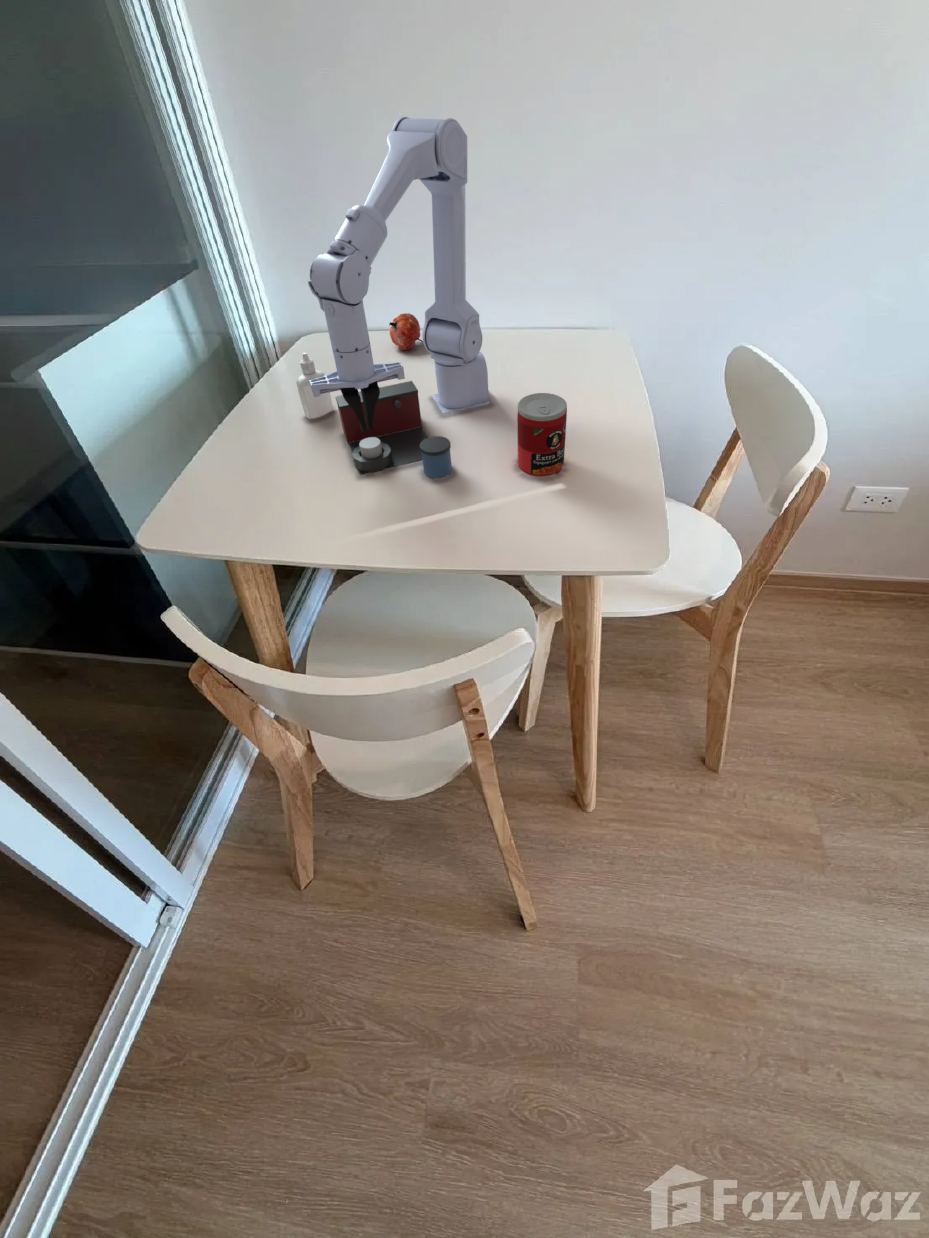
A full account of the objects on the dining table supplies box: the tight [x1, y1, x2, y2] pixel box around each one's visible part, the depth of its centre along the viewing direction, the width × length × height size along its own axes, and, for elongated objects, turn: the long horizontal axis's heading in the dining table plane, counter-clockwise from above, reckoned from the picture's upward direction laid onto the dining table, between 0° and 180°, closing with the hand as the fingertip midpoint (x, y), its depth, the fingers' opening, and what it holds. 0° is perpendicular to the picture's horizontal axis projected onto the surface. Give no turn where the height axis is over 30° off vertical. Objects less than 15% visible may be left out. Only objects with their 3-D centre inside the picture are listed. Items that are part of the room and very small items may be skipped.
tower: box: [335, 380, 423, 444], centre depth 112 cm, size 5×14×8 cm, turn 108°
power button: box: [359, 437, 382, 458], centre depth 105 cm, size 4×4×2 cm
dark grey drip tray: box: [347, 426, 429, 476], centre depth 109 cm, size 11×14×3 cm
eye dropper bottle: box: [296, 352, 334, 420], centre depth 117 cm, size 4×6×12 cm
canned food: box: [516, 392, 568, 477], centre depth 100 cm, size 8×8×11 cm
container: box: [420, 435, 453, 479], centre depth 102 cm, size 5×5×6 cm
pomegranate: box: [388, 312, 423, 351], centre depth 138 cm, size 7×7×10 cm
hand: (366, 428), depth 102 cm, fingers closed
